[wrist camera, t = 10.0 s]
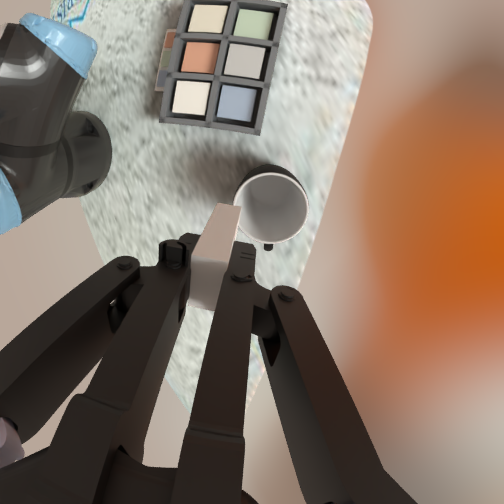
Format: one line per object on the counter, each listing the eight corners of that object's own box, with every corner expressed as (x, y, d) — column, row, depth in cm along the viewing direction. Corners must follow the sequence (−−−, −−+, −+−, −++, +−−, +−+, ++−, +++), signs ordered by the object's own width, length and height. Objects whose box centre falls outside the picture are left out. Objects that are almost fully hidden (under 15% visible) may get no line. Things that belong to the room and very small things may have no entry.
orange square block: (185, 73, 31) (181, 71, 30) (191, 45, 29) (187, 42, 27) (216, 75, 32) (213, 73, 30) (222, 47, 29) (219, 43, 28)
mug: (240, 156, 38) (231, 171, 30) (301, 159, 38) (312, 174, 29) (239, 231, 44) (232, 264, 35) (295, 233, 44) (302, 267, 35)
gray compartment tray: (151, 119, 36) (139, 121, 32) (174, 5, 26) (165, -4, 23) (260, 133, 37) (259, 135, 33) (285, 14, 27) (287, 4, 23)
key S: (191, 35, 28) (187, 31, 26) (198, 9, 26) (194, 4, 24) (223, 36, 28) (221, 32, 26) (229, 10, 26) (227, 6, 24)
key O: (176, 112, 34) (172, 112, 32) (181, 82, 31) (177, 80, 30) (207, 115, 34) (204, 115, 32) (213, 84, 32) (210, 83, 30)
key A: (219, 116, 34) (216, 116, 33) (224, 86, 32) (222, 85, 31) (251, 121, 35) (250, 121, 33) (257, 91, 33) (256, 90, 31)
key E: (235, 39, 29) (233, 35, 27) (241, 13, 27) (239, 8, 25) (267, 43, 29) (267, 40, 27) (273, 18, 27) (273, 13, 25)
